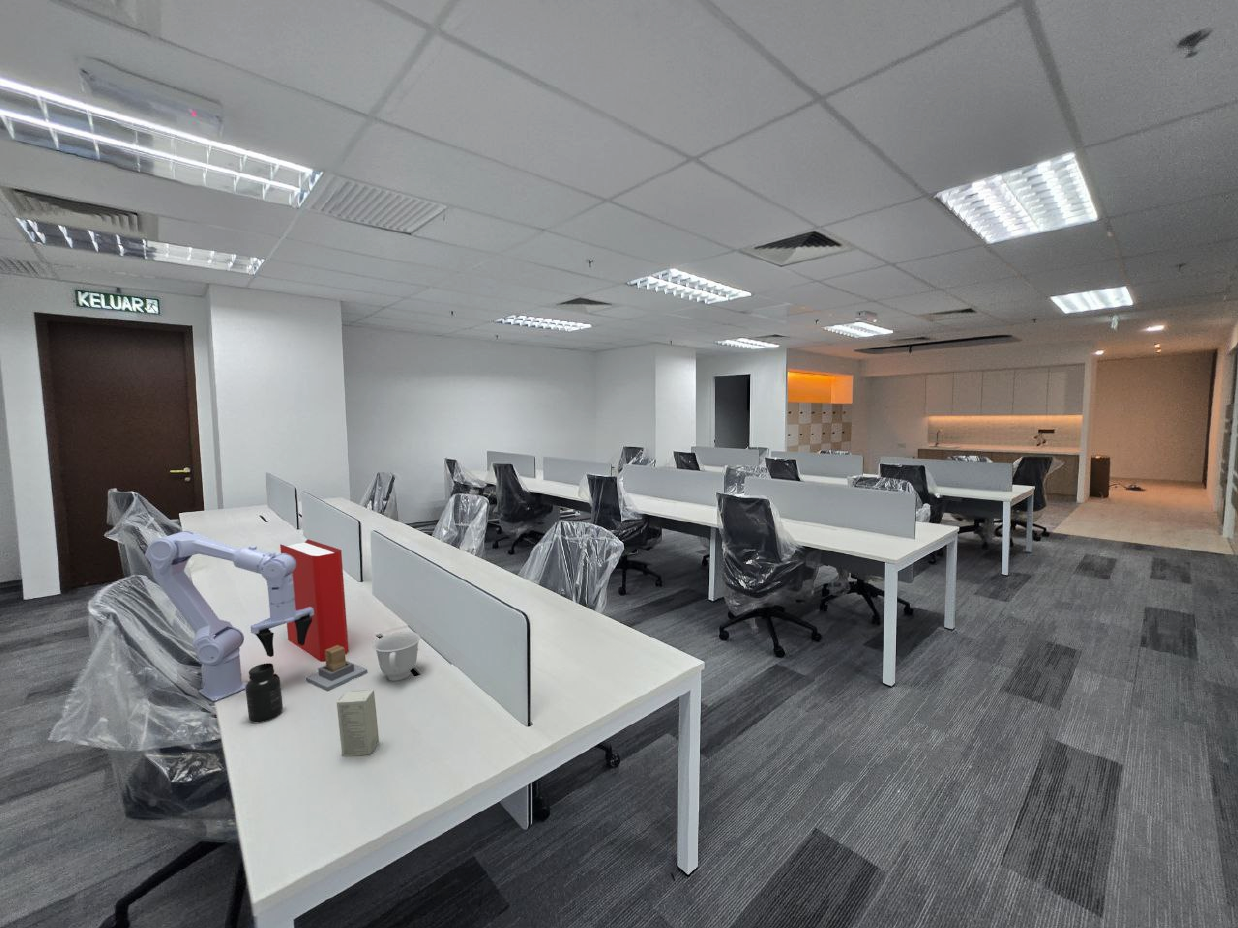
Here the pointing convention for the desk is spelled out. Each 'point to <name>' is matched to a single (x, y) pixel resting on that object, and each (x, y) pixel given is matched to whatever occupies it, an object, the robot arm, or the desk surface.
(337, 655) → the oak peg
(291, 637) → the book
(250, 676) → the supplement bottle
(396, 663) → the teacup
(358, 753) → the skincare box
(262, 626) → the robot arm
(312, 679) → the stand
